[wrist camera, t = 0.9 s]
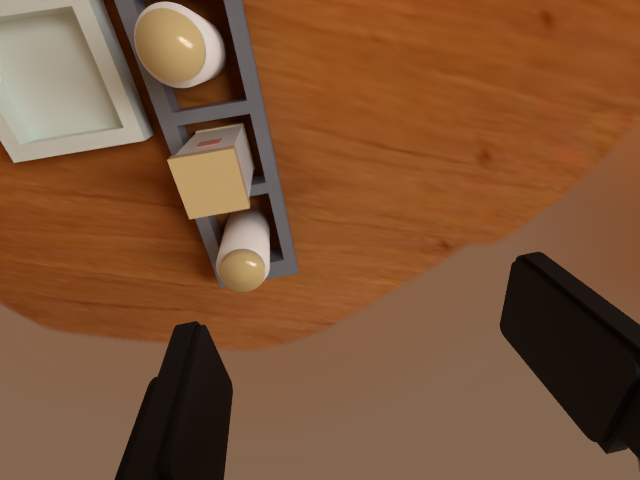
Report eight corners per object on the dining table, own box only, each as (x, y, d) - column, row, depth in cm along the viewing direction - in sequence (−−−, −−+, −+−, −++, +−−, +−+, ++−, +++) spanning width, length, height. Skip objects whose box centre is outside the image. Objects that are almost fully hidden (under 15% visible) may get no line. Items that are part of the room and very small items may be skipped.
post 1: (161, 21, 25) (113, 5, 17) (218, 13, 25) (196, -8, 17) (181, 84, 27) (146, 95, 19) (234, 76, 27) (220, 83, 20)
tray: (-51, 9, 23) (-85, 4, 21) (98, -12, 24) (81, -19, 21) (33, 154, 28) (14, 162, 26) (154, 134, 29) (145, 140, 27)
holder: (115, -30, 23) (100, -38, 21) (233, -46, 24) (229, -57, 22) (223, 274, 37) (220, 288, 35) (296, 260, 37) (298, 273, 35)
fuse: (197, 129, 29) (166, 159, 20) (244, 121, 29) (233, 148, 21) (211, 174, 31) (189, 219, 23) (255, 166, 31) (249, 208, 23)
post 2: (221, 209, 33) (206, 256, 25) (264, 201, 33) (263, 246, 25) (233, 246, 35) (223, 300, 27) (273, 238, 35) (274, 290, 28)
